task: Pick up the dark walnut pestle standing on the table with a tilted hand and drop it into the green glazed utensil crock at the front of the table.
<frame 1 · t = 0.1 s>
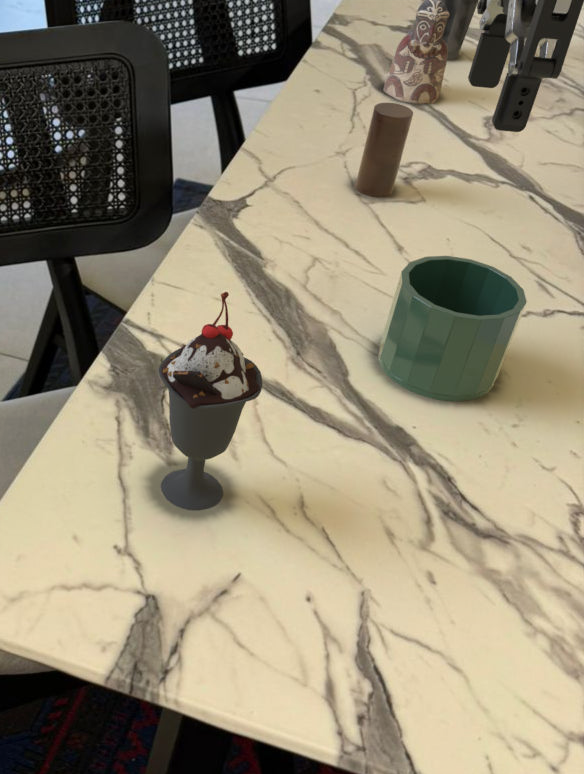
hand: (493, 106, 75), 21 cm above the table, tool pointing down, fingers open, 8 cm apart
sundae: (190, 493, 72), on the table
pestle: (372, 191, 111), on the table
figurine: (409, 96, 134), on the table
crock: (435, 369, 86), on the table
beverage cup: (439, 58, 147), on the table
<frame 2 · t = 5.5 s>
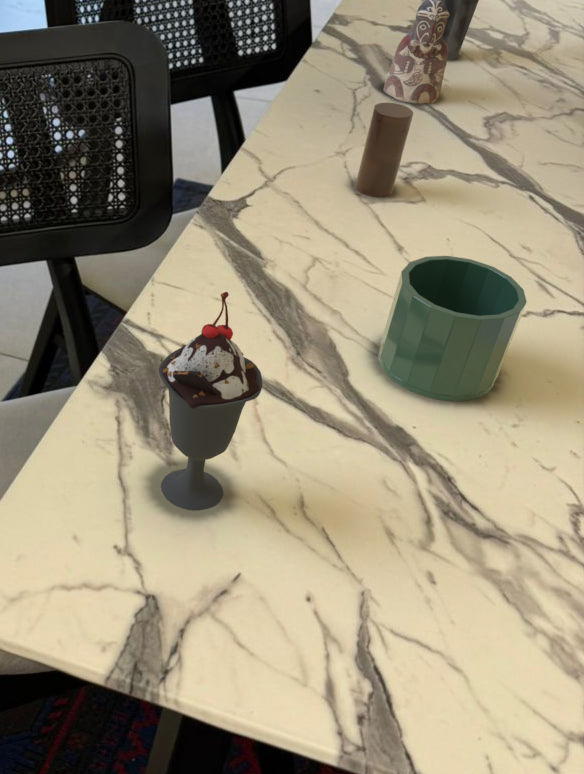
nothing on the table moved.
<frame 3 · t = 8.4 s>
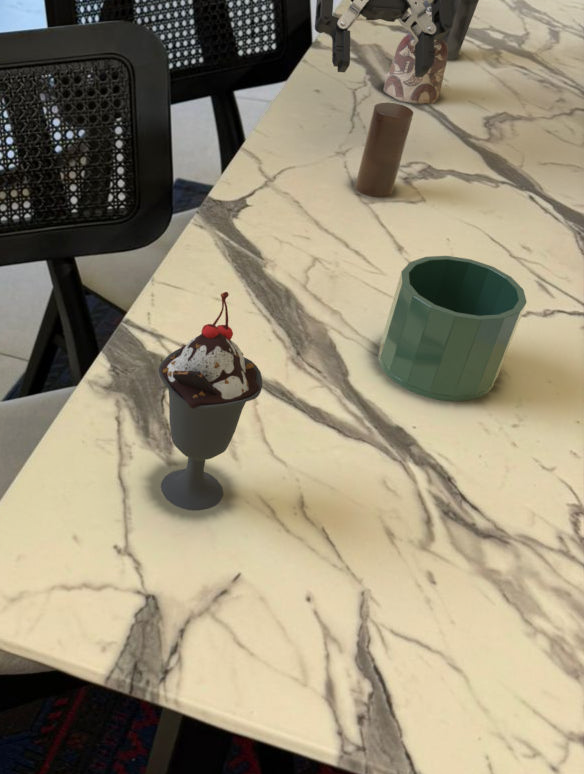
hand: (383, 71, 109), 11 cm above the table, tool tilted 45°, fingers open, 8 cm apart
nothing on the table moved.
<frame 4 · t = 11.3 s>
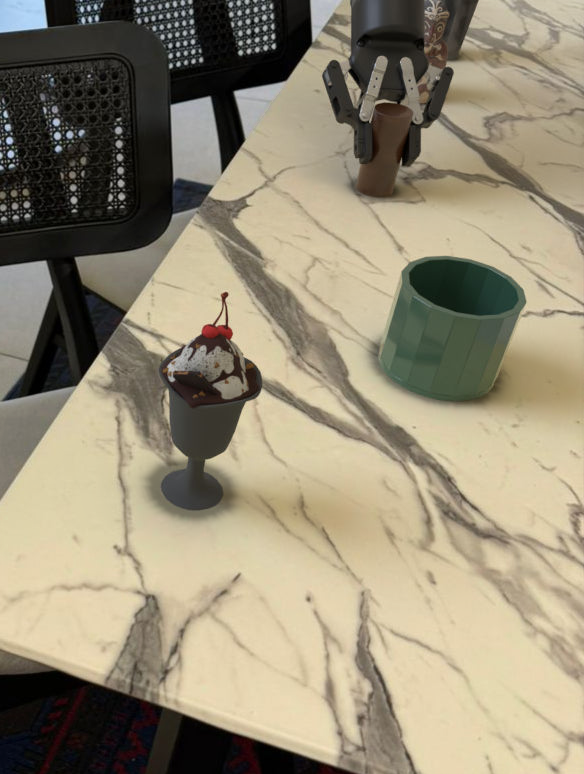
hand: (387, 161, 107), 4 cm above the table, tool tilted 45°, fingers closed on pestle, 4 cm apart
pestle: (373, 191, 111), on the table, touching gripper
everything else where it was.
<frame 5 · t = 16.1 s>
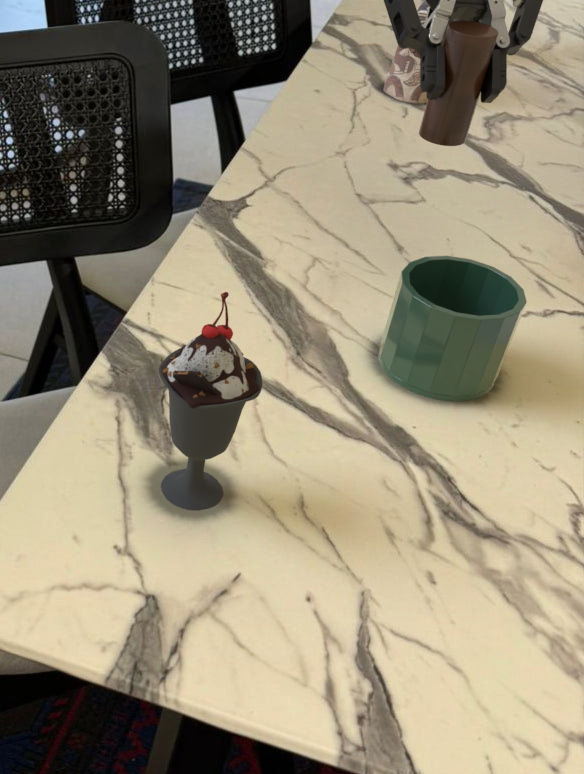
hand: (463, 96, 84), 18 cm above the table, tool tilted 45°, fingers closed on pestle, 4 cm apart
pestle: (442, 136, 88), point 14 cm above the table, touching gripper
everything else where it was.
when the fingers open (10 cm above the table, at t = 20.9 s): pestle drops 5 cm, resting on crock.
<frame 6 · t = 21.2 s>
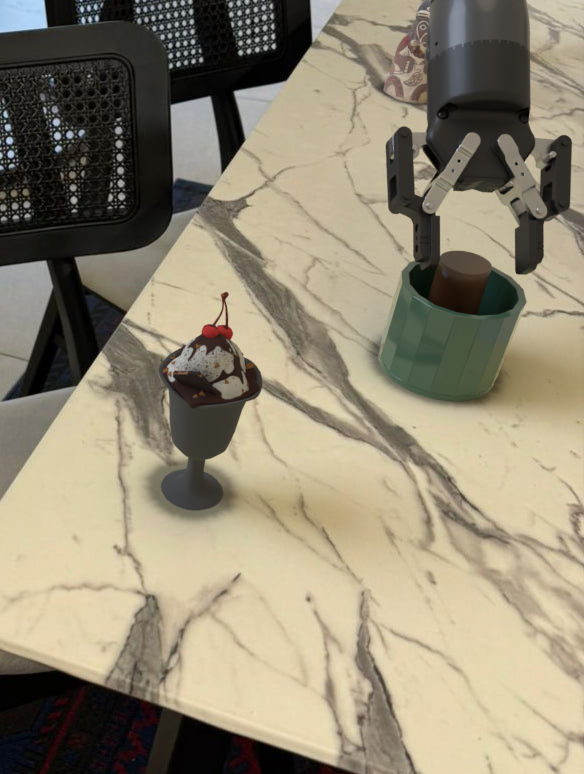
hand: (478, 269, 78), 10 cm above the table, tool tilted 45°, fingers open, 7 cm apart
pestle: (436, 360, 85), point 1 cm above the table, touching crock
everything else where it was.
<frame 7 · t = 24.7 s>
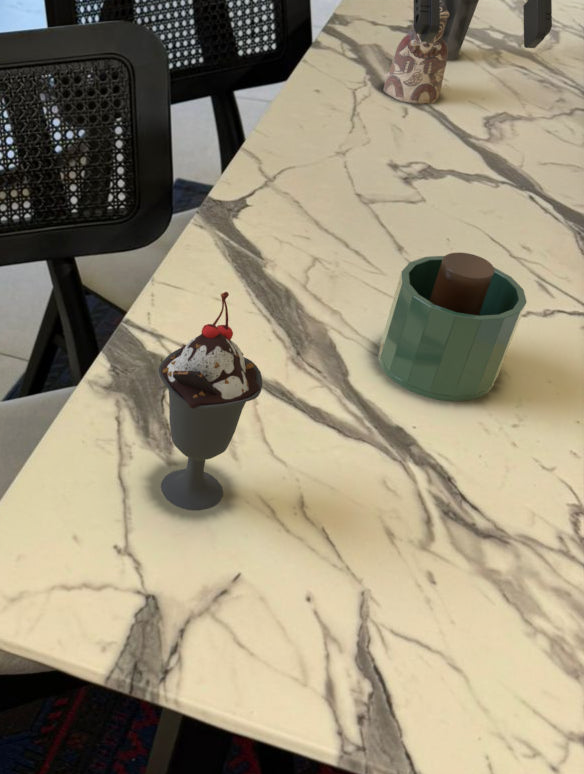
hand: (483, 40, 80), 23 cm above the table, tool tilted 45°, fingers open, 8 cm apart
nothing on the table moved.
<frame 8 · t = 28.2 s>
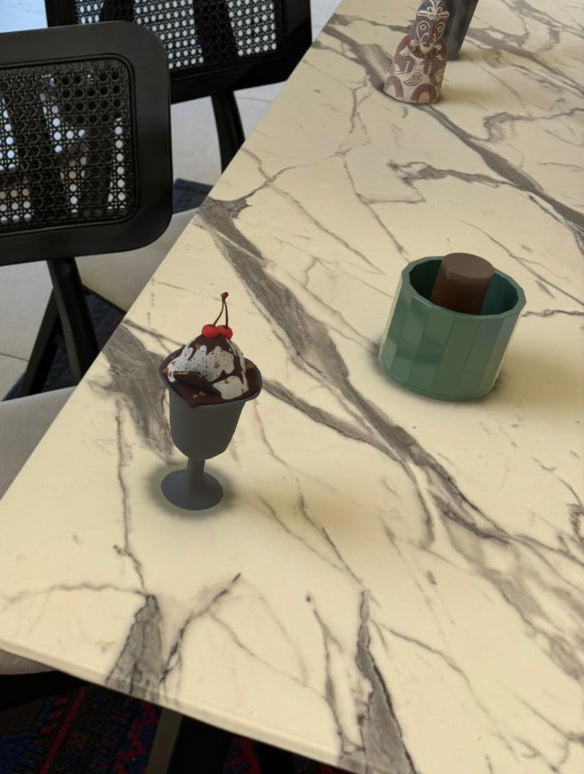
nothing on the table moved.
at the end: pestle inside the target area in the crock (0.2 cm from its centre), point 0.8 cm above the crock's base; the gripper is holding nothing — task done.
